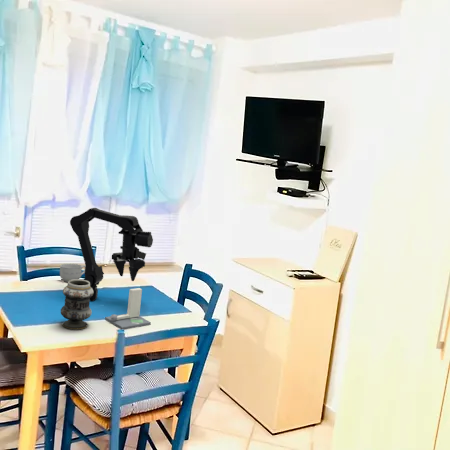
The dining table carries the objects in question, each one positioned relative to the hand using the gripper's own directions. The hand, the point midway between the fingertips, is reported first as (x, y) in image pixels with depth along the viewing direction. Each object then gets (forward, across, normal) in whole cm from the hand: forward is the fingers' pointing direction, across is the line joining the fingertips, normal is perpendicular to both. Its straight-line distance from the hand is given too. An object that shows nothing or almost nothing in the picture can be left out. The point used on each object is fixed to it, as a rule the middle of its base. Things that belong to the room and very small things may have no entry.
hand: (127, 278), depth 244 cm
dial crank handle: (+12, -15, +10) cm, 22 cm away
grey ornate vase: (+13, -11, +31) cm, 36 cm away
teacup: (+12, +45, +3) cm, 46 cm away
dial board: (+14, -17, +10) cm, 24 cm away
